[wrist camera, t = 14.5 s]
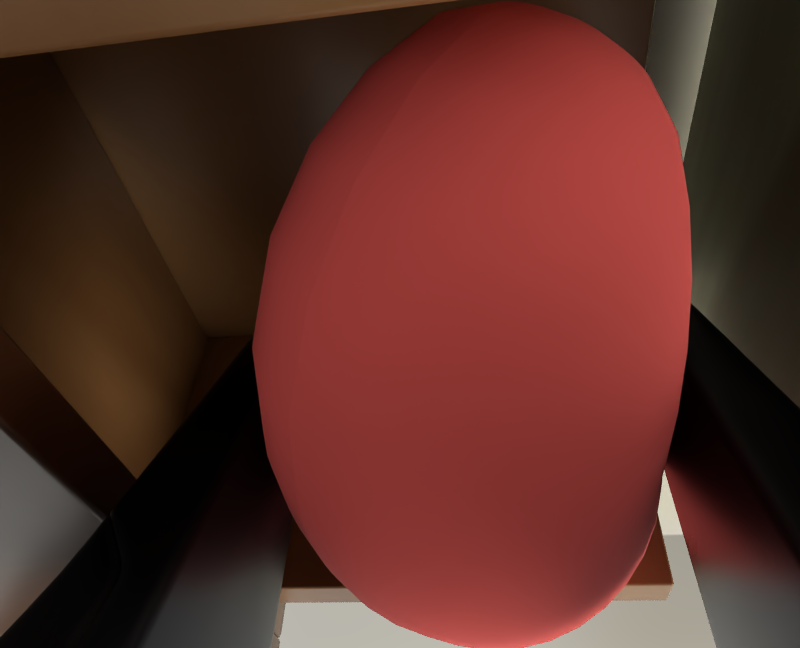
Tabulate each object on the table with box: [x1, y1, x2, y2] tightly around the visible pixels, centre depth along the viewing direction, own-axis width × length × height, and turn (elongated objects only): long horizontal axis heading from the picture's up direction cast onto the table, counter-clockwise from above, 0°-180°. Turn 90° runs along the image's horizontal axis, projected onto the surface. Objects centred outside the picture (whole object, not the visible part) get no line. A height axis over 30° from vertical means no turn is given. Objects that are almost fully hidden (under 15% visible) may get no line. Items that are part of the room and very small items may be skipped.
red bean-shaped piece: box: [252, 1, 692, 648], centre depth 9 cm, size 5×9×6 cm, turn 0°
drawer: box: [0, 0, 800, 603], centre depth 11 cm, size 18×13×8 cm
